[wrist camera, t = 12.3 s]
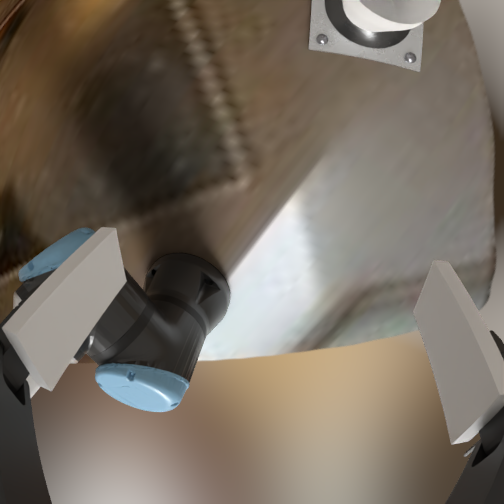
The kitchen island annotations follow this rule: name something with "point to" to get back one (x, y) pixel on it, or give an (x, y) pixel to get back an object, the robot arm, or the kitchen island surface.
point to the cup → (389, 13)
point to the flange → (362, 38)
